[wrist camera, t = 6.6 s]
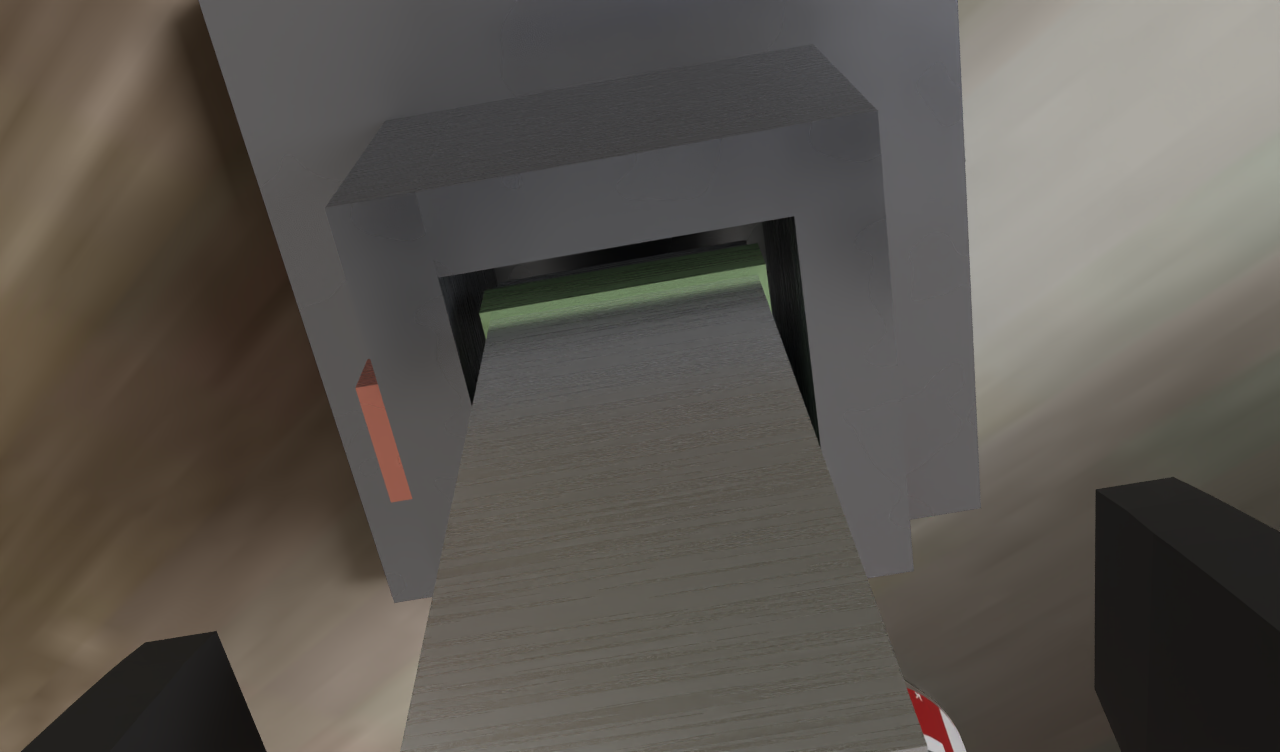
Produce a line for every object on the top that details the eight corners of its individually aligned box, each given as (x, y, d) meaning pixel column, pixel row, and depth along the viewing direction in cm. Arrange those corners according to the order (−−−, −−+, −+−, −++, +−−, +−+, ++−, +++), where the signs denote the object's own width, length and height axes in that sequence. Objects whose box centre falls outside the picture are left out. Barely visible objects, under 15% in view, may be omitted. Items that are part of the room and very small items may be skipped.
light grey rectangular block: (752, 230, 14) (944, 727, 6) (783, 460, 15) (970, 1097, 8) (487, 276, 14) (361, 818, 6) (542, 500, 15) (491, 1162, 8)
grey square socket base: (930, -143, 16) (1066, -129, 11) (963, 477, 20) (1070, 667, 16) (220, -12, 16) (74, 53, 12) (402, 568, 20) (349, 779, 16)
